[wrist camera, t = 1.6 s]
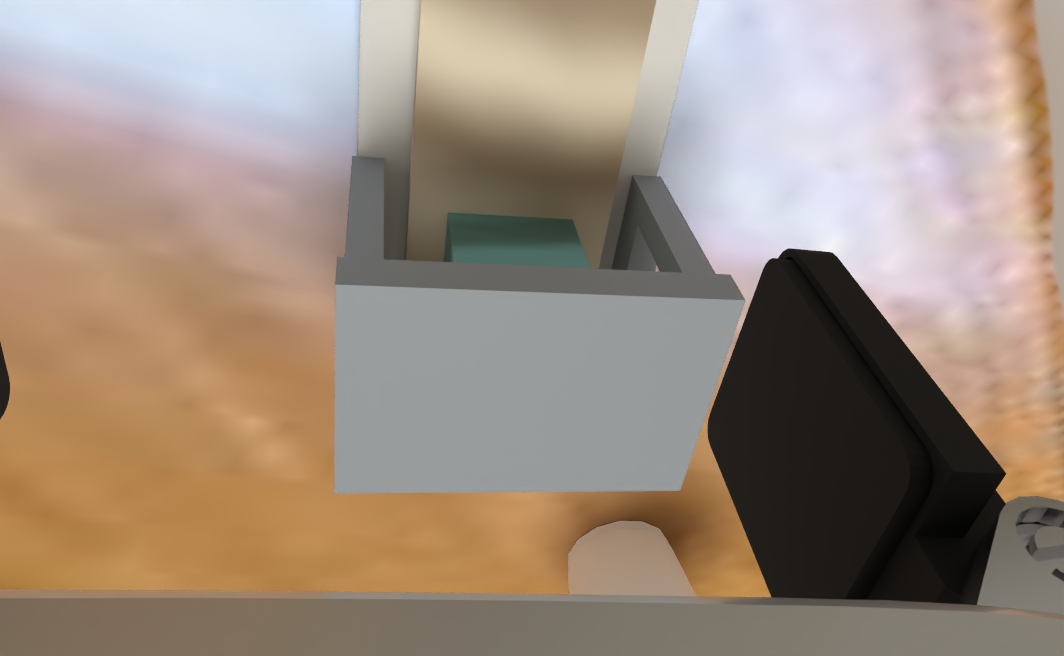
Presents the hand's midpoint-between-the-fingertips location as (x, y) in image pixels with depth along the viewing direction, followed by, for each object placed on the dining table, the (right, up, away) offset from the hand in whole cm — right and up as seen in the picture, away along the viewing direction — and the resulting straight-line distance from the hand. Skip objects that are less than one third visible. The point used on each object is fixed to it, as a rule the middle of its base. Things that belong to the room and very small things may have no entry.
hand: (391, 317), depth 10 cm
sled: (+1, +7, +22) cm, 23 cm away
